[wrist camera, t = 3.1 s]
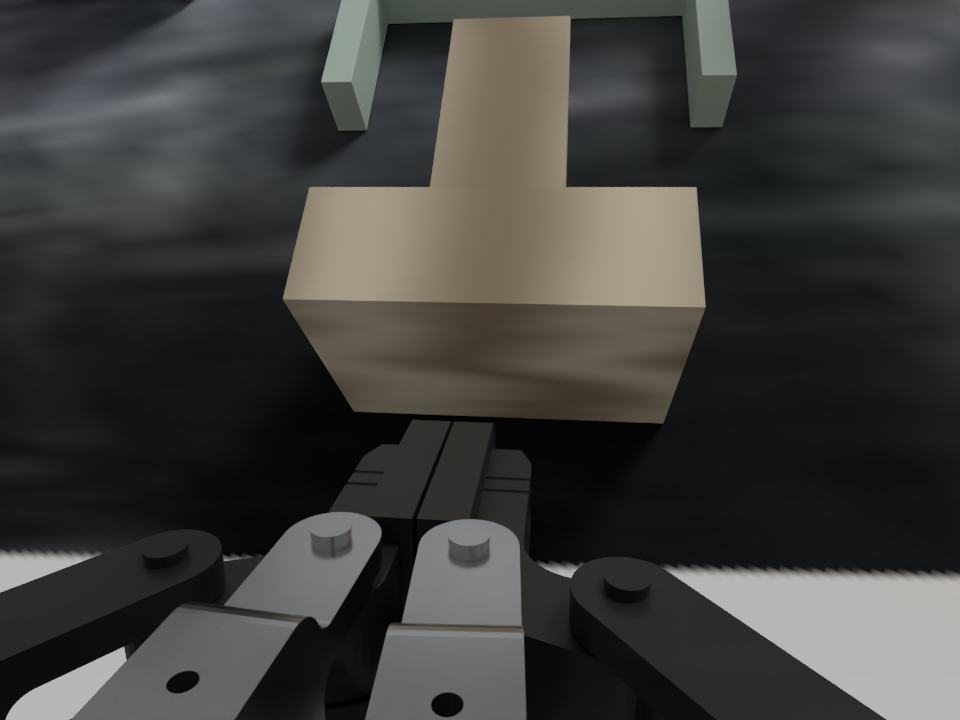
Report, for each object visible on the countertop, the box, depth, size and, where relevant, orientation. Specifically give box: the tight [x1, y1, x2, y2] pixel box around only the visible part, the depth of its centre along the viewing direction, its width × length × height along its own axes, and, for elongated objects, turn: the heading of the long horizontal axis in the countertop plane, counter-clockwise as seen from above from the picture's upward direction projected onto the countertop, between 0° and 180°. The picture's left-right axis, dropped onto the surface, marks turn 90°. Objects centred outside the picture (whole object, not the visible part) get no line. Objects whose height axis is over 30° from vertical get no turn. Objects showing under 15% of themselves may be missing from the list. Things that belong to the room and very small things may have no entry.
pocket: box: [321, 0, 737, 131], centre depth 29 cm, size 15×8×2 cm, turn 85°
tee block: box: [283, 16, 705, 423], centre depth 22 cm, size 10×10×7 cm
